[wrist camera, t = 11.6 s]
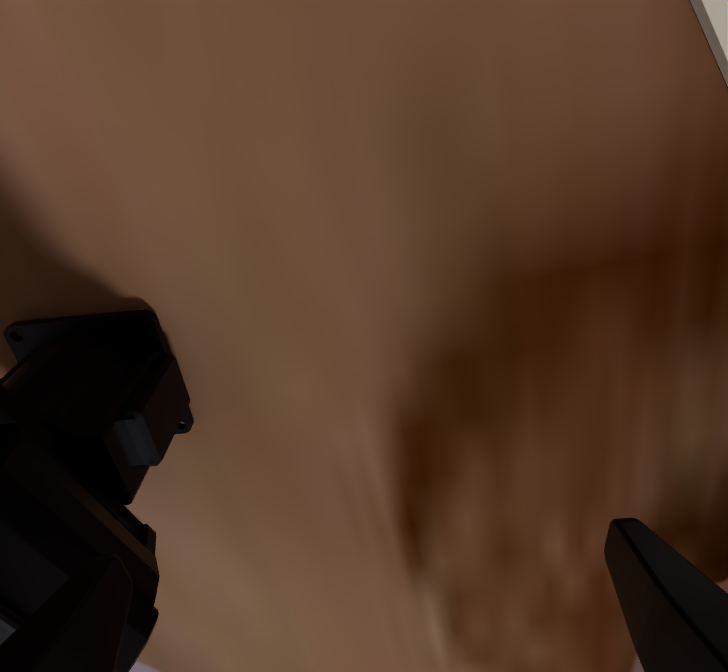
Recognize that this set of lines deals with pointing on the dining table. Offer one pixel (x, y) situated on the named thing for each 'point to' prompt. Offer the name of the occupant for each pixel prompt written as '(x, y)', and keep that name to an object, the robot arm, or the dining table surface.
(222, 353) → the dining table surface
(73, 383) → the robot arm
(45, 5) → the dining table surface
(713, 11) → the tile
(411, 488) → the dining table surface
